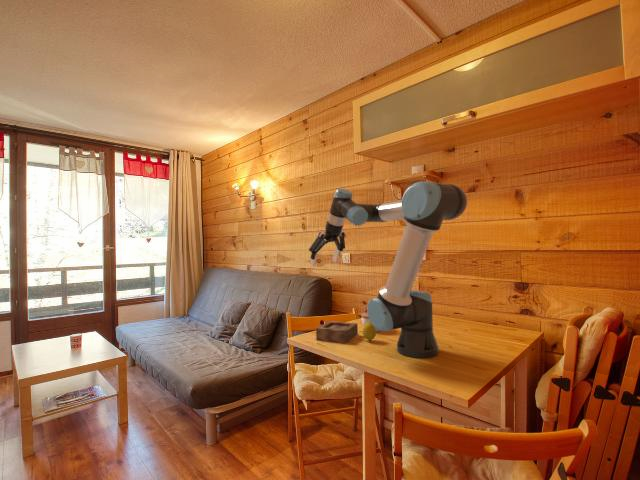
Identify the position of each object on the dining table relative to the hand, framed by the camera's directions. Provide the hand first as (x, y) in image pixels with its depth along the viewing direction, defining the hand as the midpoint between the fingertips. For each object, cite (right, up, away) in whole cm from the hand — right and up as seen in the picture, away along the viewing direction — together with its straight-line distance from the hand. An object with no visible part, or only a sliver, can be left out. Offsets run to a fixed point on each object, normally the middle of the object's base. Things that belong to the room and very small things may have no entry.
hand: (323, 262), depth 155 cm
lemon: (+19, -32, -16) cm, 41 cm away
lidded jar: (+24, -33, +1) cm, 40 cm away
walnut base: (+6, -33, -9) cm, 35 cm away
